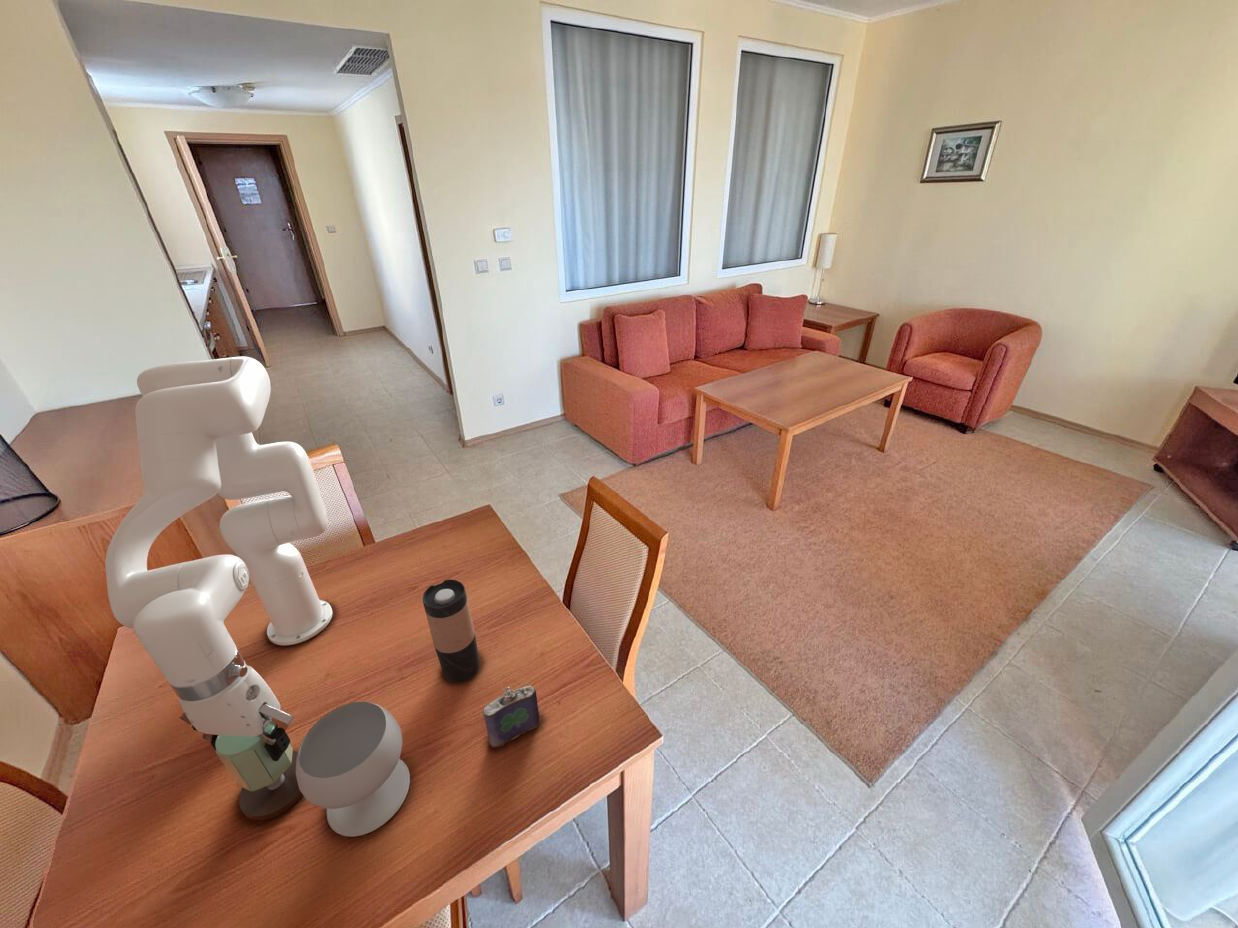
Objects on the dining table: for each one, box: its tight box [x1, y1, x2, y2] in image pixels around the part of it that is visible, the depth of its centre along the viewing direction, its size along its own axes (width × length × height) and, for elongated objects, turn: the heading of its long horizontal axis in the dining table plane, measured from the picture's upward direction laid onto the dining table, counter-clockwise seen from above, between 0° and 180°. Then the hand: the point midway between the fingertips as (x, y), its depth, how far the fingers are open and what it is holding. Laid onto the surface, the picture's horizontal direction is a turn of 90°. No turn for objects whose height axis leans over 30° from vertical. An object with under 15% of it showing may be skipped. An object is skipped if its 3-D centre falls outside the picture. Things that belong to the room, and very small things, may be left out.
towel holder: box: [238, 750, 304, 821], centre depth 77 cm, size 10×10×14 cm
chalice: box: [296, 701, 411, 838], centre depth 75 cm, size 14×14×15 cm
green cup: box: [215, 718, 294, 792], centre depth 75 cm, size 7×7×9 cm
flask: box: [482, 685, 541, 748], centre depth 85 cm, size 9×3×11 cm, turn 121°
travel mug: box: [422, 579, 480, 683], centre depth 95 cm, size 8×8×20 cm
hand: (256, 749), depth 75 cm, fingers closed on green cup, 7 cm apart
